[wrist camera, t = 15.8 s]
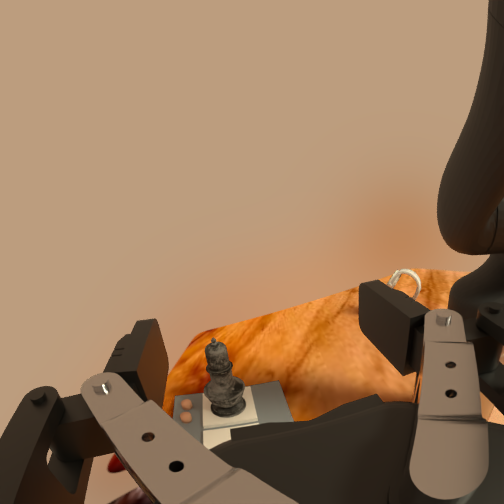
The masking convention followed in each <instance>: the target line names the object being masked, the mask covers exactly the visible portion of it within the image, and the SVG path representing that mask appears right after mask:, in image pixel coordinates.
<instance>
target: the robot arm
mask: <svg viewBox="0 0 504 504" xmlns="http://www.w3.org/2000/svg"><path fill="white" fill-rule="evenodd" d="M437 218H438V225H439V228H440V232H441V234H442V236H443V239H444V240H445V242H446V243H447V245H448V246H450V247H451V248H452V249H453V250H455V251H457V252H459V253H463V254H468V255H487V254H490V257H489V258H488V259H487V260H486V262H485V263H484V264H483V265H482V266H480V267H479V268H478V269H476V270H475V271H473V272H471V273H470V274H468V275H466V276H464V277H462V278H460V279H459V280H458V281H456V282H455V283H454V285H453V286H452V288H451V290H450V295H449V302H448V309H435V310H429V309H428V308H426V307H425V306H423V305H422V304H420V303H419V302H417V301H415V300H414V299H412V298H411V297H409V296H408V295H406V294H405V293H403V292H402V291H399V290H395V289H392V288H390V287H389V286H387V285H386V284H384V283H383V282H381V281H380V280H374V281H370V282H365V283H361V284H360V286H359V325H360V328H361V331H362V332H363V334H364V335H365V336H366V337H367V338H368V339H369V340H370V341H371V342H372V343H373V344H374V345H375V346H376V348H377V349H378V350H379V351H380V352H381V353H382V354H383V355H384V356H385V357H386V358H387V359H388V360H389V362H390V363H391V364H392V365H393V366H394V367H395V368H396V369H397V370H398V371H399V372H400V373H401V375H402V376H405V375H408V374H410V373H413V372H416V378H415V385H414V392H413V398H412V402H403V401H392V402H383V401H382V400H381V399H380V397H379V396H378V395H377V394H374V395H371V396H368V397H365V398H362V399H359V400H356V401H353V402H349V403H346V404H343V405H341V406H339V407H337V408H335V409H333V410H331V411H329V412H327V413H325V414H323V415H321V416H319V417H317V418H315V419H312V420H309V421H297V422H268V423H262V424H257V425H251V426H245V427H239V428H232V429H230V434H231V440H228V441H225V442H223V443H221V444H219V445H216V446H215V447H213V448H211V449H207V448H206V447H205V446H204V445H202V444H201V443H200V442H199V441H198V440H196V439H195V438H194V437H193V436H192V435H190V434H189V433H188V432H187V431H186V430H185V429H183V428H182V427H181V426H180V425H179V424H178V423H177V422H175V421H174V420H173V419H172V418H171V417H170V416H169V415H168V414H167V413H166V412H164V411H163V410H162V406H163V400H164V393H165V387H166V381H167V375H168V369H169V363H168V357H167V352H166V349H165V346H164V342H163V339H162V335H161V332H160V328H159V324H158V322H157V320H156V319H148V320H140V321H137V322H136V324H135V326H134V328H133V330H132V332H131V334H126V335H125V336H124V337H123V338H121V339H120V340H119V341H118V342H117V344H116V346H115V348H114V351H113V353H112V355H111V357H110V359H109V361H108V363H107V365H106V367H105V369H104V371H103V373H100V374H97V375H94V376H92V377H90V378H89V379H87V380H86V381H85V382H84V383H83V385H82V387H81V394H78V395H73V396H69V397H64V398H60V396H59V394H58V392H57V390H56V389H55V388H53V387H50V386H43V387H39V388H36V389H34V390H32V391H30V392H29V393H27V394H26V395H25V396H24V398H23V399H22V401H21V403H20V404H19V406H18V408H17V410H16V411H15V413H14V415H13V416H12V418H11V420H10V422H9V424H8V425H7V427H6V429H5V431H4V433H3V435H2V436H1V438H0V504H84V500H85V495H86V490H87V485H88V480H89V476H90V471H91V467H92V462H93V457H96V456H101V455H106V454H110V453H115V454H116V456H117V457H118V459H119V460H120V461H121V463H122V464H123V466H124V467H125V468H126V470H127V471H128V472H129V474H130V475H131V476H132V478H133V479H134V480H135V481H136V483H137V484H138V485H139V487H140V488H141V489H142V490H143V492H144V493H145V494H146V495H147V497H148V498H149V499H150V501H151V502H152V503H153V504H504V425H501V424H497V423H492V422H488V420H489V417H490V415H491V413H492V410H493V408H494V406H495V407H496V408H497V409H498V410H499V411H500V412H501V413H502V414H503V415H504V0H489V4H488V22H487V34H486V44H485V50H484V57H483V62H482V67H481V72H480V77H479V81H478V85H477V89H476V93H475V96H474V100H473V103H472V106H471V110H470V113H469V115H468V118H467V120H466V123H465V125H464V127H463V130H462V132H461V134H460V137H459V139H458V141H457V143H456V145H455V148H454V150H453V152H452V154H451V156H450V159H449V161H448V163H447V165H446V168H445V171H444V173H443V176H442V180H441V184H440V188H439V194H438V202H437ZM49 448H50V449H51V451H52V455H51V458H50V461H49V463H48V465H47V461H46V457H47V452H48V450H49Z"/></svg>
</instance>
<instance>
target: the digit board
mask: <svg viewBox="0 0 504 504" xmlns="http://www.w3.org/2000/svg"><path fill="white" fill-rule="evenodd" d="M242 397H243V398H244V399H245V401H246V408H245V410H244V411H243V412H242V413H240V414H239V415H237V416H234V417H230V418H222V417H218V416H216V415H214V414H213V413H212V411H211V408H210V407H211V404H212V403H211V402H210V401H209V399H208V398H207V397H206V396H205V395H204V393H197V394H189V395H179V396H175V402H174V412H173V420H174V421H175V422H177V423H178V424H179V425H180V426H181V427H182V428H183V429H185V430H186V431H187V432H188V433H189V434H190V435H192V436H193V437H194V438H195V439H196V440H198V441H199V442H200V443H201V444H202V445H204V446H205V447H206V448H207V449H211V448H213V447H215V446H216V445H219V444H221V443H223V442H225V441H228V440H231V434H230V429H232V428H239V427H245V426H251V425H257V424H262V423H268V422H294V421H293V418H292V415H291V412H290V410H289V407H288V404H287V401H286V399H285V396H284V393H283V390H282V388H281V385H280V382H279V380H278V381H273V382H268V383H262V384H257V385H251V386H246V387H245V390H244V392H243V396H242Z"/></svg>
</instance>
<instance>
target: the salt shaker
mask: <svg viewBox="0 0 504 504" xmlns="http://www.w3.org/2000/svg"><path fill="white" fill-rule="evenodd" d="M211 342H212V343H210V344H208V345H207V346H206V348H205V354H206V359H207V363H208V365H207V367H206V371H207V372H208V373H210V377H211V381H209V382H208V383H207V384H206V386H205V387H204V395H205V396H206V397H207V398H208V399H209V401H210V402H211V403H212V404H211V407H210V408H211V411H212V413H213V414H214V415H216V416H218V417H222V418H230V417H234V416H237V415H239V414H240V413H242V412H243V411H244V410H245V408H246V401H245V399H244V398H243V397H242V396H243V392H244V390H245V384H244V382H243V381H242V380H241V379H239V378H237V377H234V376H232V371H231V369H232V367H233V364H232V362H231V361H229V358H228V353H227V348H226V346H225V345H224V344H223V343H221V342H216V339H215V338H212V340H211Z"/></svg>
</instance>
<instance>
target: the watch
mask: <svg viewBox="0 0 504 504" xmlns="http://www.w3.org/2000/svg"><path fill="white" fill-rule="evenodd" d="M401 274H407V275H410V276H411V277H412V278H414V280H415V281H416V283H417V285H418V286H417V290H416V292H415V295H414V296H413V297H412V299H414V300H416V298H417V296H418V294H419V292H420V290H421V281H420V278H419V277H418V275H416V273H415V272H413V271H412V270H410V269H401V270H399V271H398V270H396V272H395V273H394V274H393V275H392V277H391V278H390V280H389V282H388V283H387V286H389V287H390V288H392V289H393V287H394V286H395V285H396V283H397V282H398V280H399V278H400V277H401Z"/></svg>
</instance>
